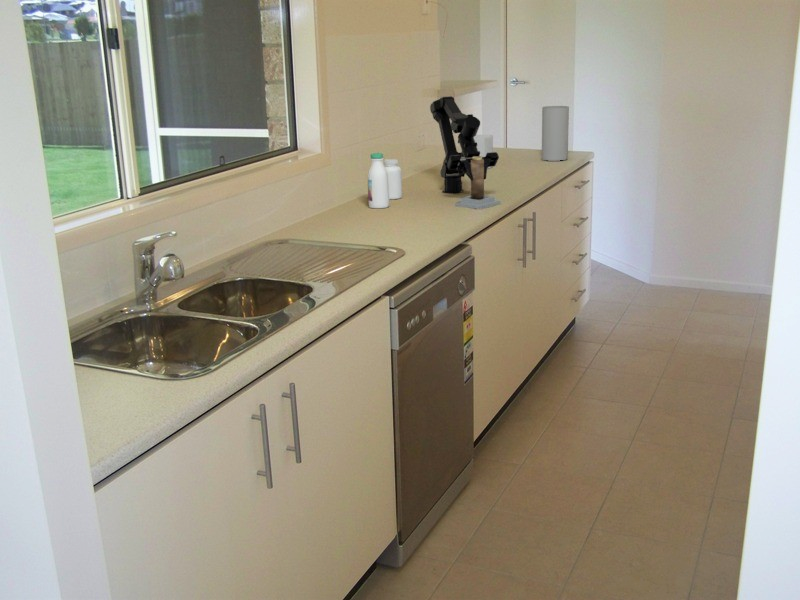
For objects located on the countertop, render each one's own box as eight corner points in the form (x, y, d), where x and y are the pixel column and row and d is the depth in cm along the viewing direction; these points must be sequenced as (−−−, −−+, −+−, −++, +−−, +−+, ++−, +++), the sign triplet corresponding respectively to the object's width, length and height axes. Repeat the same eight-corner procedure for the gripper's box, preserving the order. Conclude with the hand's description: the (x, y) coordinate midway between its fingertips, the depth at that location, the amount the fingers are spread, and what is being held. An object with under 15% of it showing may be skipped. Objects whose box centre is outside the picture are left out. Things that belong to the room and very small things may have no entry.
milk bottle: (392, 205, 329) (390, 152, 323) (385, 209, 322) (382, 155, 316) (373, 204, 332) (370, 152, 326) (365, 208, 325) (363, 155, 319)
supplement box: (493, 167, 407) (493, 134, 402) (485, 170, 400) (484, 137, 395) (476, 166, 411) (476, 134, 407) (467, 169, 404) (467, 136, 400)
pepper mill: (469, 198, 322) (469, 157, 317) (472, 196, 326) (472, 155, 322) (482, 199, 321) (482, 157, 316) (485, 196, 325) (485, 155, 320)
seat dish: (455, 205, 324) (455, 198, 323) (474, 200, 332) (474, 193, 331) (480, 209, 316) (480, 201, 315) (500, 203, 325) (500, 196, 324)
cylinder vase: (538, 158, 427) (539, 106, 419) (563, 157, 428) (564, 105, 421) (545, 162, 415) (546, 108, 408) (570, 160, 416) (572, 107, 409)
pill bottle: (405, 196, 345) (404, 158, 341) (397, 200, 338) (395, 161, 334) (387, 195, 348) (386, 158, 344) (378, 199, 342) (377, 161, 337)
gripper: (485, 156, 336) (496, 189, 329) (440, 160, 331) (449, 194, 325) (493, 138, 326) (504, 172, 320) (446, 142, 322) (456, 176, 315)
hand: (478, 179), depth 320 cm, fingers closed on pepper mill, 5 cm apart
